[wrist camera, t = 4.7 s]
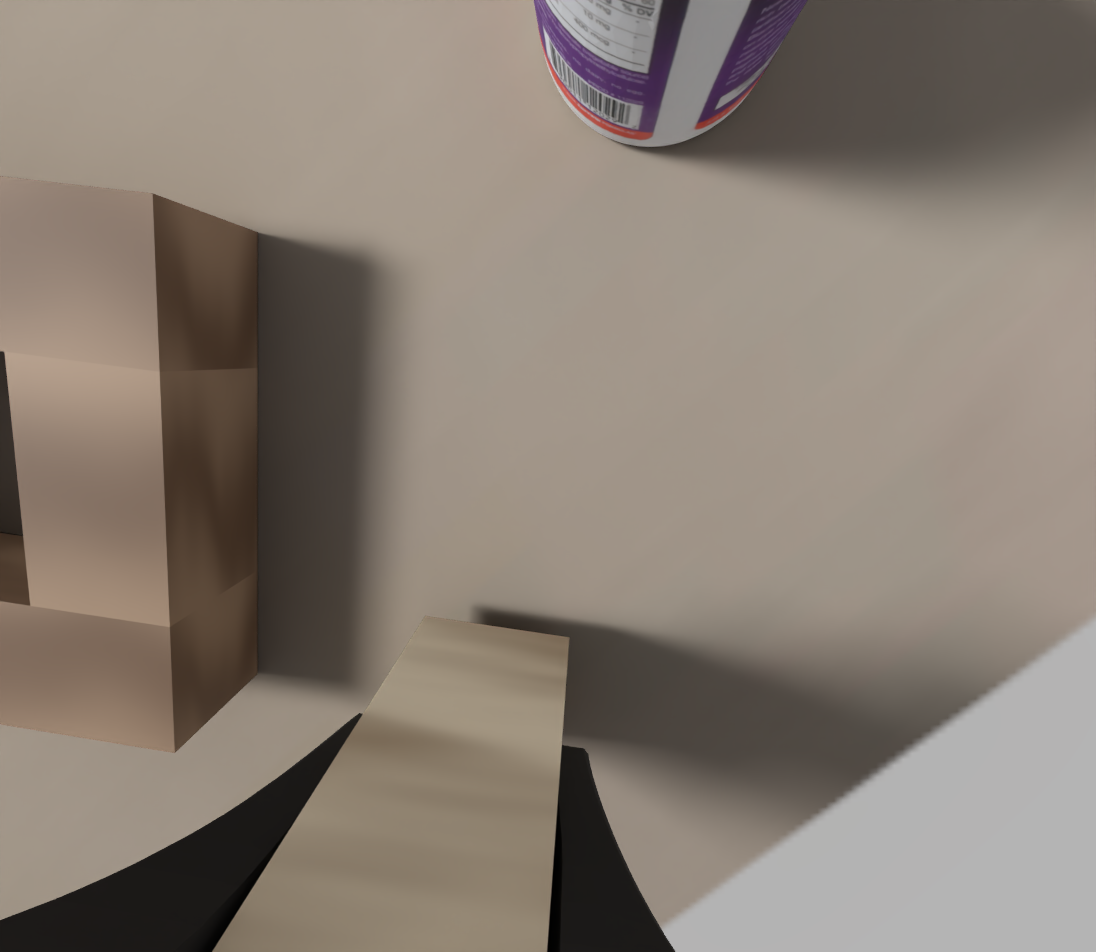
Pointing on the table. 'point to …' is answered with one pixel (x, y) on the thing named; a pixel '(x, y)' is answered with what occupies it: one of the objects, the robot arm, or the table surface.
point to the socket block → (127, 463)
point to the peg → (429, 809)
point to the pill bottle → (659, 61)
